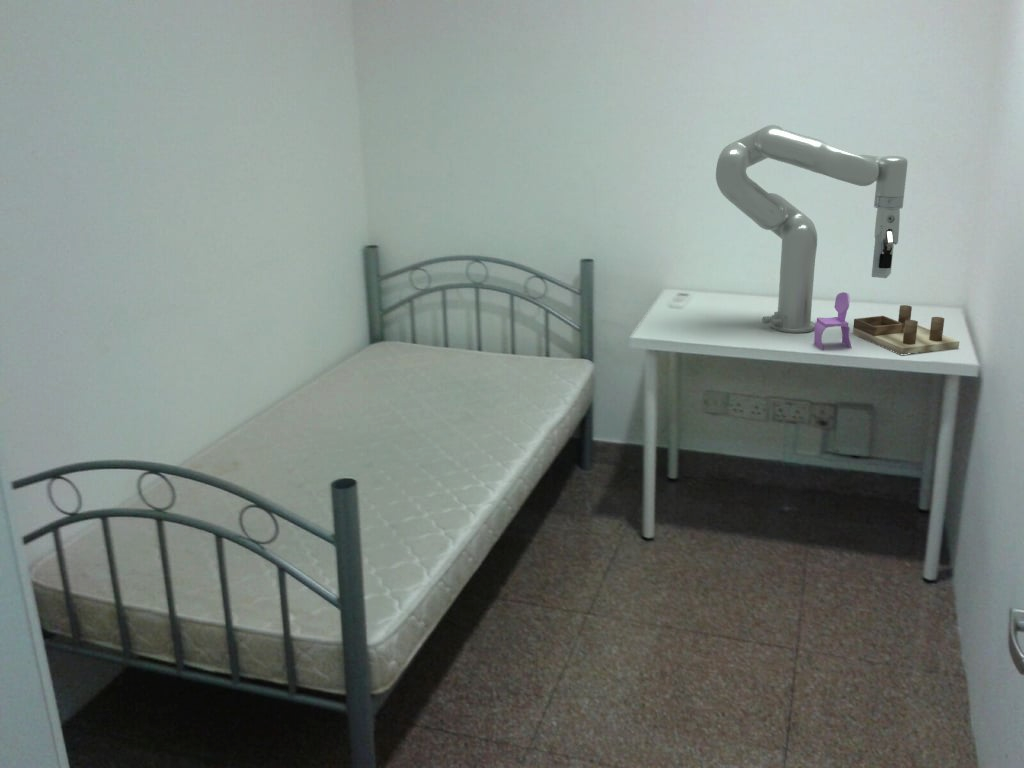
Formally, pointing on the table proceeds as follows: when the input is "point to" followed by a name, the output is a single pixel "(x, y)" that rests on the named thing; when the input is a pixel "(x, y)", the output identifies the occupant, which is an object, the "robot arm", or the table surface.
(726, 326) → the table surface
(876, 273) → the skincare box
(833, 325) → the toy chair
